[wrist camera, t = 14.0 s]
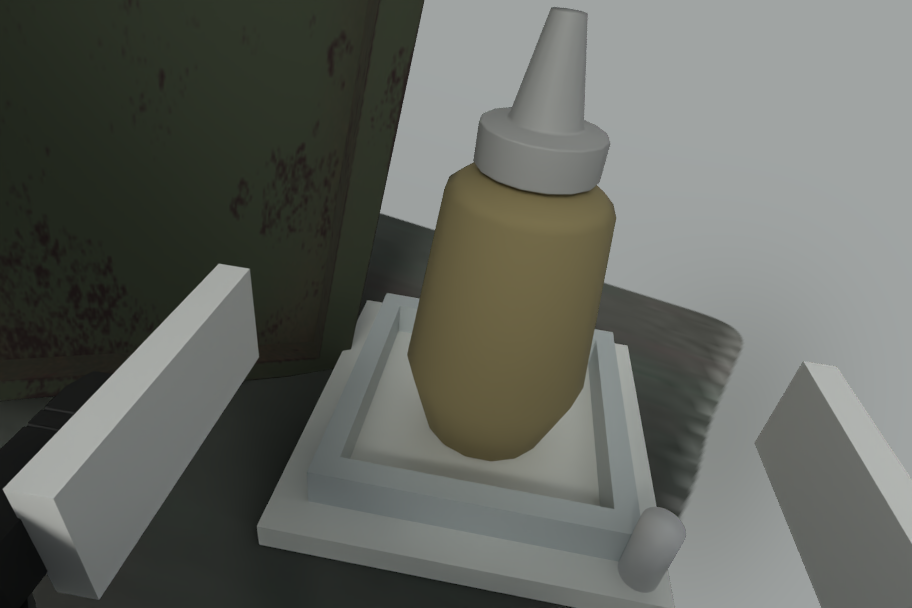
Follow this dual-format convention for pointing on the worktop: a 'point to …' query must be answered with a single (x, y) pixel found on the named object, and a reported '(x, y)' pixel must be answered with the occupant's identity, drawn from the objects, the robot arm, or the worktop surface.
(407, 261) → the worktop surface
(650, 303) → the worktop surface
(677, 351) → the worktop surface
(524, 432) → the squeeze bottle
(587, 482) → the holder plate
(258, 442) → the worktop surface
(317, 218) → the first aid box
